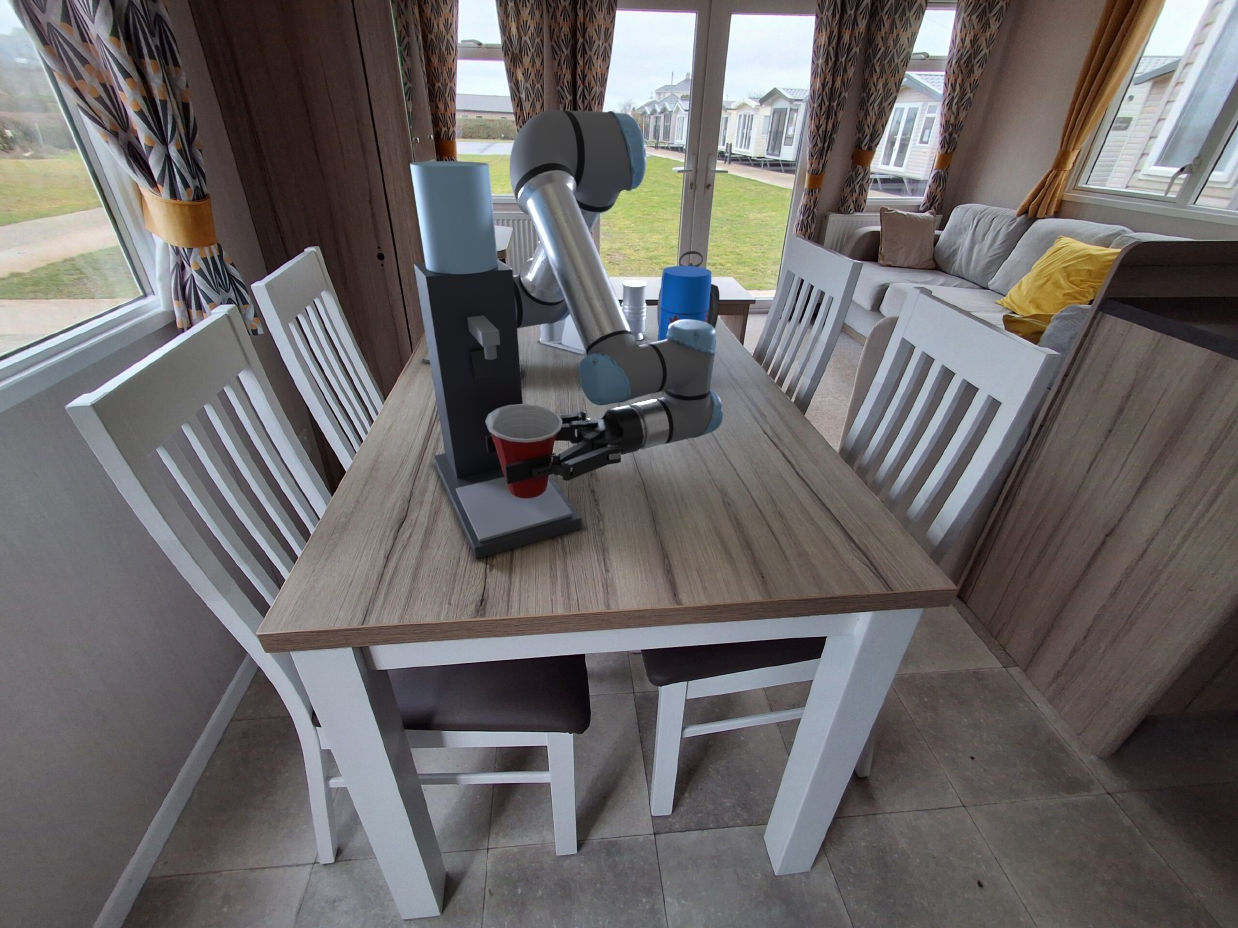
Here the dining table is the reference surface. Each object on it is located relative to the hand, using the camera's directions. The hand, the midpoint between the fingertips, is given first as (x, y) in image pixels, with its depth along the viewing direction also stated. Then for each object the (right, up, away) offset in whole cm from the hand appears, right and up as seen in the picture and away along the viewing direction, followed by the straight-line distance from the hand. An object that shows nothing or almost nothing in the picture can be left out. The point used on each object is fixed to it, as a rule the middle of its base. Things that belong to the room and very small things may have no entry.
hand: (496, 458), depth 80 cm
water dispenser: (-1, -6, +11) cm, 12 cm away
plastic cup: (+4, -5, +5) cm, 8 cm away
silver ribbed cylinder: (+22, +35, +79) cm, 89 cm away
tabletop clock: (+35, +31, +73) cm, 87 cm away
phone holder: (+5, +32, +73) cm, 80 cm away
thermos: (+32, +19, +53) cm, 65 cm away
